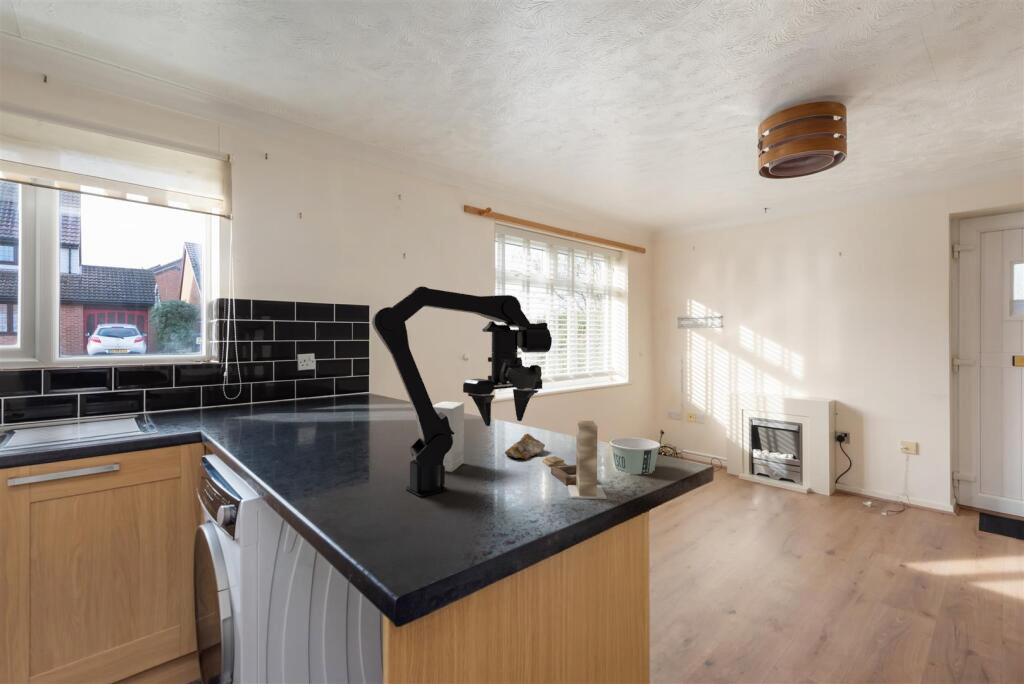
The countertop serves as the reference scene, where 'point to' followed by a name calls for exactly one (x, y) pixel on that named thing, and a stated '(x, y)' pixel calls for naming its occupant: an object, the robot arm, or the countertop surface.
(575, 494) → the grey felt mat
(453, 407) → the skincare box
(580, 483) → the tan wooden block
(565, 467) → the walnut rack
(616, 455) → the food container
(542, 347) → the robot arm
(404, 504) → the countertop surface
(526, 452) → the decorative stone
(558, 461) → the oak offcuts
